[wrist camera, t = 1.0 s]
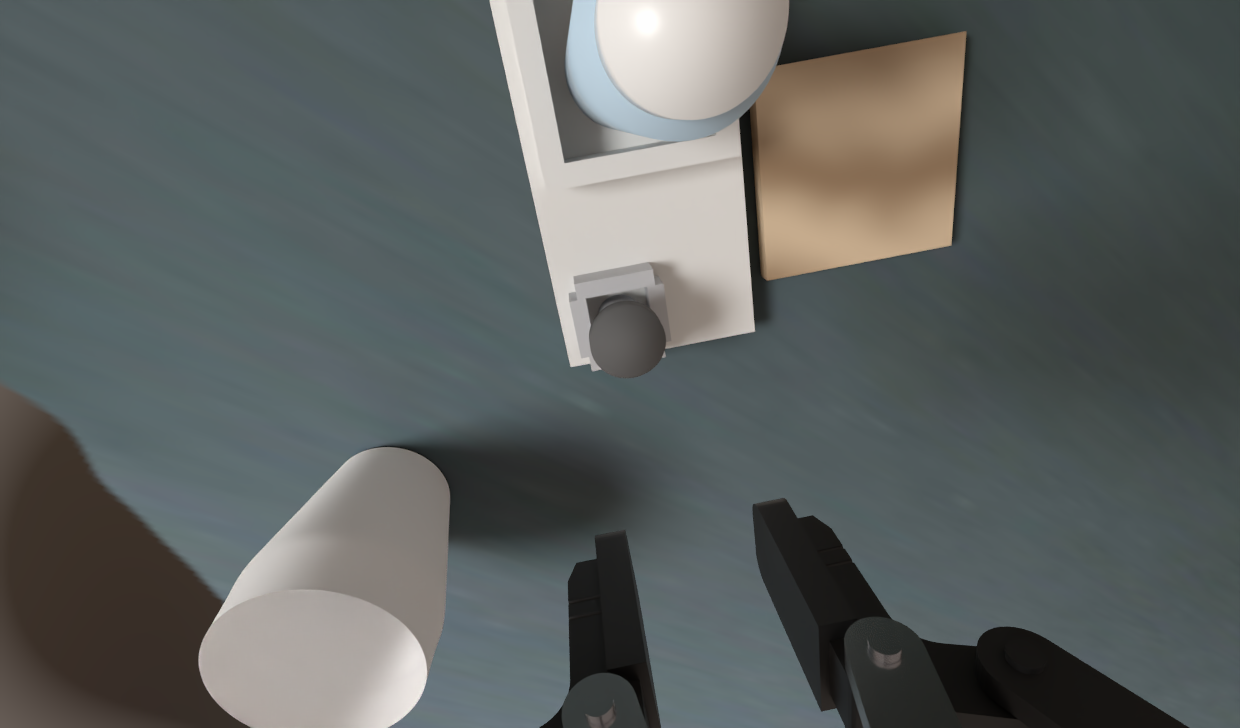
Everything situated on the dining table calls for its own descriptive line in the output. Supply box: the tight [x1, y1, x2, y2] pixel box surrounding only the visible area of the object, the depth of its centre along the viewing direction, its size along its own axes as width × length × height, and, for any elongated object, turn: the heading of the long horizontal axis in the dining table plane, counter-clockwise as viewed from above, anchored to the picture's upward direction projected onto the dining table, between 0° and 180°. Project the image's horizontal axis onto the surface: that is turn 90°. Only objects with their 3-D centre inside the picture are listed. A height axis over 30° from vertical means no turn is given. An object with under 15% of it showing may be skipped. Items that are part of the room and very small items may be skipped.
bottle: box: [565, 0, 789, 142], centre depth 19 cm, size 5×5×14 cm
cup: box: [199, 447, 450, 728], centre depth 29 cm, size 9×9×12 cm
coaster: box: [750, 31, 966, 281], centre depth 29 cm, size 10×10×1 cm
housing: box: [490, 0, 755, 371], centre depth 27 cm, size 18×10×4 cm, turn 9°
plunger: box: [589, 294, 666, 378], centre depth 27 cm, size 3×3×4 cm
